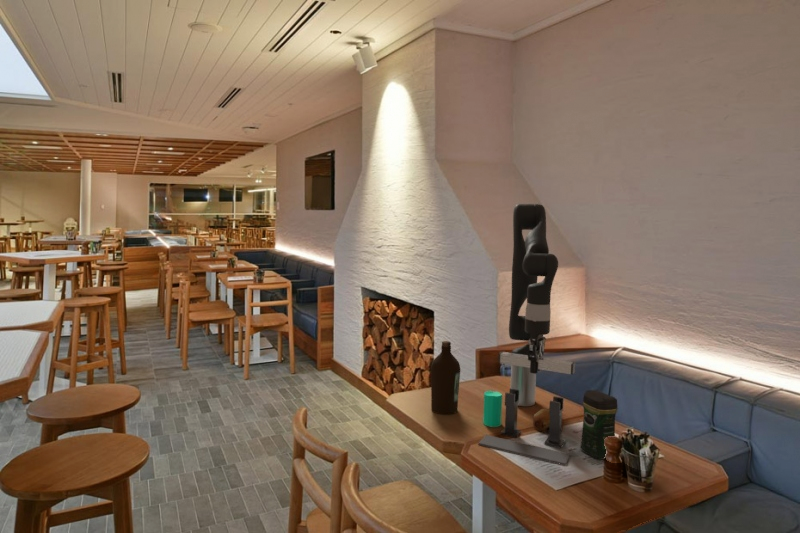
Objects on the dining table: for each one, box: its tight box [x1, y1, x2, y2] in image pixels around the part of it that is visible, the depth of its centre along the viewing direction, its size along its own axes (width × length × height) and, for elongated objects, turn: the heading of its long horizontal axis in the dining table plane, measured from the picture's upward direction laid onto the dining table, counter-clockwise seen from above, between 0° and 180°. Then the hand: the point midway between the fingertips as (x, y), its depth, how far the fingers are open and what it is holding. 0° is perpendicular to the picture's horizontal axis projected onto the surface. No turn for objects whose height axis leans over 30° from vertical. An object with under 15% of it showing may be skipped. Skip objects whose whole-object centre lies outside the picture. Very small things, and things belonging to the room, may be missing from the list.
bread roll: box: [532, 408, 564, 434], centre depth 175 cm, size 10×10×8 cm
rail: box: [497, 351, 576, 376], centre depth 163 cm, size 3×23×3 cm, turn 61°
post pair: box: [500, 387, 566, 449], centre depth 165 cm, size 6×19×14 cm, turn 61°
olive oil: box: [430, 340, 461, 415], centre depth 188 cm, size 11×11×25 cm
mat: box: [478, 434, 571, 466], centre depth 157 cm, size 7×26×1 cm, turn 61°
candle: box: [482, 388, 503, 428], centre depth 176 cm, size 6×6×12 cm
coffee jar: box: [580, 389, 618, 460], centre depth 155 cm, size 10×8×19 cm
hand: (535, 371), depth 164 cm, fingers closed on rail, 3 cm apart
